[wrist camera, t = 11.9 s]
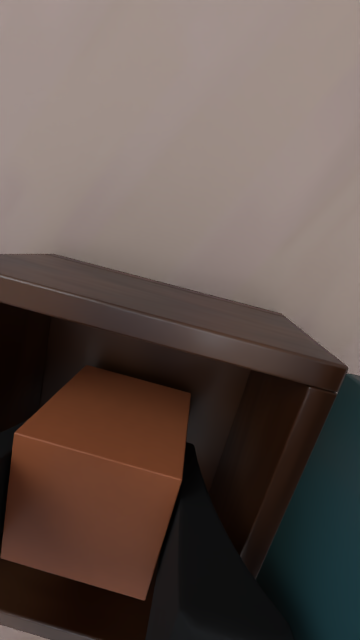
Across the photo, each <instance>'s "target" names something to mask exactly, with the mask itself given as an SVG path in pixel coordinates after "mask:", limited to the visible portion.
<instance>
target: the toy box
mask: <svg viewBox="0 0 360 640" xmlns="http://www.w3.org/2000/svg"><path fill="white" fill-rule="evenodd" d="M86 365H89V366H93V367H96V368H100V369H104V370H107V371H111V372H115V373H118V374H122V375H126V376H129V377H133V378H137V379H140V380H144V381H148V382H151V383H155V384H159V385H162V386H166V387H170V388H173V389H177V390H181V391H184V392H188V393H191V399H190V409H189V419H188V429H187V439H186V442H188V443H191V444H193V445H194V447H195V451H196V456H197V459H198V463H199V467H200V470H201V473H202V476H203V479H204V482H205V485H206V488H207V490H208V493H209V496H210V498H211V500H212V503H213V505H214V508H215V510H216V512H217V514H218V516H219V519H220V521H221V523H222V525H223V527H224V529H225V531H226V533H227V534H228V536H229V538H230V540H231V542H232V544H233V545H234V547H235V549H236V550H237V552H238V554H239V555H240V557H241V558H242V560H243V562H244V563H245V565H246V566H247V568H248V570H249V571H250V573H251V574H252V576H253V577H254V578H255V579H256V577H257V574H258V572H259V570H260V568H261V565H262V563H263V561H264V559H265V556H266V554H267V552H268V550H269V547H270V545H271V543H272V541H273V538H274V536H275V534H276V531H277V529H278V527H279V525H280V522H281V520H282V518H283V516H284V513H285V511H286V509H287V507H288V504H289V502H290V500H291V498H292V495H293V493H294V491H295V488H296V486H297V484H298V482H299V479H300V477H301V475H302V473H303V470H304V468H305V466H306V464H307V461H308V459H309V457H310V455H311V452H312V450H313V448H314V445H315V443H316V441H317V439H318V436H319V434H320V432H321V430H322V427H323V425H324V423H325V421H326V418H327V416H328V414H329V412H330V409H331V407H332V405H333V402H334V400H335V398H336V396H337V394H336V393H335V392H338V391H339V389H340V387H341V384H342V382H343V380H344V378H345V375H346V373H347V371H348V367H347V366H346V365H345V364H344V363H342V362H341V361H340V360H339V359H337V358H336V357H335V356H334V355H332V354H331V353H330V352H329V351H327V350H326V349H325V348H324V347H322V346H321V345H320V344H319V343H317V342H316V341H315V340H314V339H312V338H311V337H310V336H309V335H307V334H306V333H305V332H304V331H302V330H301V329H300V328H299V327H297V326H296V325H295V324H294V323H292V322H291V321H290V320H289V319H287V318H286V317H285V316H284V315H282V314H280V313H276V312H273V311H269V310H265V309H261V308H257V307H253V306H250V305H246V304H242V303H238V302H234V301H231V300H227V299H223V298H219V297H215V296H212V295H208V294H204V293H200V292H196V291H193V290H189V289H185V288H181V287H177V286H173V285H170V284H166V283H162V282H158V281H154V280H151V279H147V278H143V277H139V276H135V275H132V274H128V273H124V272H120V271H116V270H112V269H109V268H105V267H101V266H97V265H93V264H90V263H86V262H82V261H78V260H74V259H71V258H67V257H63V256H59V255H55V254H0V432H3V431H5V430H7V429H9V428H12V427H14V426H16V425H18V424H20V423H22V422H24V421H26V420H28V419H29V418H31V417H32V416H33V415H34V414H35V413H36V412H37V411H38V410H39V409H40V408H41V407H42V406H43V405H44V404H45V403H46V402H48V401H49V400H50V399H51V398H52V397H53V396H54V395H55V394H56V393H57V392H58V391H59V390H60V389H61V388H62V387H63V386H64V385H66V384H67V383H68V382H69V381H70V380H71V379H72V378H73V377H74V376H75V375H76V374H77V373H78V372H79V371H80V370H81V369H83V368H84V367H85V366H86ZM2 539H3V532H2V533H1V535H0V557H1V548H2ZM157 566H158V561H157V564H156V567H155V570H154V573H153V577H152V580H151V583H150V586H149V590H148V593H147V596H146V599H145V600H141V599H137V598H134V597H130V596H127V595H124V594H120V593H117V592H113V591H110V590H107V589H103V588H100V587H96V586H93V585H90V584H86V583H83V582H79V581H76V580H73V579H69V578H66V577H62V576H59V575H56V574H52V573H49V572H46V571H42V570H39V569H35V568H32V567H29V566H25V565H22V564H18V563H15V562H12V561H8V560H5V559H1V558H0V625H3V626H7V627H10V628H13V629H17V630H20V631H23V632H27V633H30V634H33V635H37V636H40V637H44V638H47V639H50V640H145V639H146V633H147V627H148V622H149V616H150V610H151V604H152V598H153V593H154V587H155V581H156V574H157Z"/></svg>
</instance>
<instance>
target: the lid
mask: <svg viewBox="0 0 360 640" xmlns="http://www.w3.org/2000/svg"><path fill="white" fill-rule="evenodd" d="M255 580H256V581H257V583H258V584H259V586H260V587H261V589H262V590H263V591H264V593H265V594H266V595H267V596H268V598H269V599H270V600H271V602H272V603H273V604H274V605H275V607H276V608H277V609H278V611H279V612H280V613H281V614H282V616H283V617H284V618H285V619H286V621H287V622H288V623H289V625H290V628H291V631H292V634H293V637H294V640H360V376H358V375H353V374H346V375H345V378H344V380H343V382H342V384H341V387H340V389H339V391H338V393H337V396H336V398H335V400H334V402H333V405H332V407H331V409H330V412H329V414H328V416H327V418H326V421H325V423H324V425H323V427H322V430H321V432H320V434H319V436H318V439H317V441H316V443H315V445H314V448H313V450H312V452H311V455H310V457H309V459H308V461H307V464H306V466H305V468H304V470H303V473H302V475H301V477H300V479H299V482H298V484H297V486H296V488H295V491H294V493H293V495H292V498H291V500H290V502H289V504H288V507H287V509H286V511H285V513H284V516H283V518H282V520H281V522H280V525H279V527H278V529H277V531H276V534H275V536H274V538H273V541H272V543H271V545H270V547H269V550H268V552H267V554H266V556H265V559H264V561H263V563H262V565H261V568H260V570H259V572H258V574H257V577H256V579H255Z"/></svg>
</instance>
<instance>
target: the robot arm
mask: <svg viewBox="0 0 360 640" xmlns="http://www.w3.org/2000/svg"><path fill="white" fill-rule="evenodd" d="M26 421H27V420H26ZM26 421H24V422H22V423H20V424H18V425H16V426H14V427H12V428H9V429H7V430H5V431H3V432H0V535H1V533H2V532H3V530H4V521H5V511H6V502H7V493H8V484H9V475H10V466H11V457H12V448H13V439H14V433H15V432H16V431H17V430H18V429H19V428H20V427H21V426H22V425H23V424H24V423H25V422H26ZM145 640H294V637H293V634H292V631H291V628H290V625H289V623H288V622H287V621H286V619H285V618H284V617H283V616H282V614H281V613H280V612H279V611H278V609H277V608H276V607H275V605H274V604H273V603H272V602H271V600H270V599H269V598H268V596H267V595H266V594H265V593H264V591H263V590H262V589H261V587H260V586H259V584H258V583H257V581H256V580H255V578H254V577H253V576H252V574H251V573H250V571H249V570H248V568H247V566H246V565H245V563H244V562H243V560H242V558H241V557H240V555H239V554H238V552H237V550H236V549H235V547H234V545H233V544H232V542H231V540H230V538H229V536H228V534H227V533H226V531H225V529H224V527H223V525H222V523H221V521H220V519H219V516H218V514H217V512H216V510H215V508H214V505H213V503H212V500H211V498H210V496H209V493H208V490H207V488H206V485H205V482H204V479H203V476H202V473H201V470H200V467H199V463H198V459H197V456H196V451H195V447H194V445H193V444H191V443H188V442H186V448H185V458H184V468H183V478H182V483H181V486H180V489H179V492H178V496H177V499H176V502H175V505H174V509H173V512H172V515H171V518H170V522H169V525H168V528H167V531H166V535H165V538H164V541H163V544H162V548H161V551H160V554H159V557H158V566H157V574H156V581H155V587H154V593H153V598H152V604H151V610H150V616H149V622H148V627H147V633H146V639H145Z"/></svg>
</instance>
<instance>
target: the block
mask: <svg viewBox="0 0 360 640" xmlns="http://www.w3.org/2000/svg"><path fill="white" fill-rule="evenodd" d="M190 399H191V393H188V392H184V391H181V390H177V389H173V388H170V387H166V386H162V385H159V384H155V383H151V382H148V381H144V380H140V379H137V378H133V377H129V376H126V375H122V374H118V373H115V372H111V371H107V370H104V369H100V368H96V367H93V366H89V365H86V366H85V367H84V368H83V369H81V370H80V371H79V372H78V373H77V374H76V375H75V376H74V377H73V378H72V379H71V380H70V381H69V382H68V383H67V384H66V385H64V386H63V387H62V388H61V389H60V390H59V391H58V392H57V393H56V394H55V395H54V396H53V397H52V398H51V399H50V400H49V401H48V402H46V403H45V404H44V405H43V406H42V407H41V408H40V409H39V410H38V411H37V412H36V413H35V414H34V415H33V416H32V417H31V418H29V419H28V420H27V421H26V422H25V423H24V424H23V425H22V426H21V427H20V428H19V429H18V430H17V431H16V432H15V433H14V439H13V448H12V457H11V466H10V475H9V484H8V493H7V502H6V511H5V521H4V530H3V539H2V548H1V557H0V558H1V559H5V560H8V561H12V562H15V563H18V564H22V565H25V566H29V567H32V568H35V569H39V570H42V571H46V572H49V573H52V574H56V575H59V576H62V577H66V578H69V579H73V580H76V581H79V582H83V583H86V584H90V585H93V586H96V587H100V588H103V589H107V590H110V591H113V592H117V593H120V594H124V595H127V596H130V597H134V598H137V599H141V600H145V599H146V596H147V593H148V590H149V586H150V583H151V580H152V577H153V573H154V570H155V567H156V564H157V561H158V557H159V554H160V551H161V548H162V544H163V541H164V538H165V535H166V531H167V528H168V525H169V522H170V518H171V515H172V512H173V509H174V505H175V502H176V499H177V496H178V492H179V489H180V486H181V483H182V478H183V468H184V458H185V448H186V439H187V429H188V419H189V409H190Z"/></svg>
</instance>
